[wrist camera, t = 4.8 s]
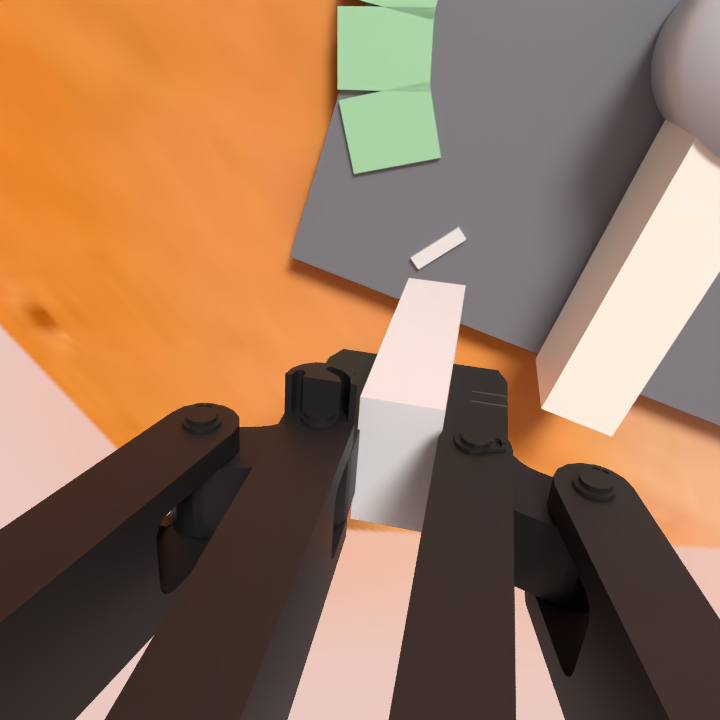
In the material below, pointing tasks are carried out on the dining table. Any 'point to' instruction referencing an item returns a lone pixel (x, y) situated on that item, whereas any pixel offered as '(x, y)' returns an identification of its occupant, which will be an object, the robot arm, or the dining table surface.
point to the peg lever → (647, 241)
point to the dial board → (495, 162)
